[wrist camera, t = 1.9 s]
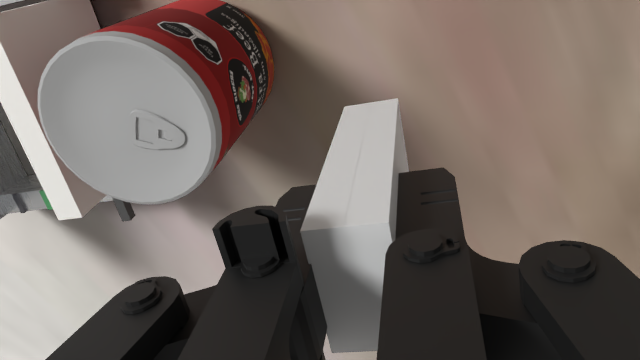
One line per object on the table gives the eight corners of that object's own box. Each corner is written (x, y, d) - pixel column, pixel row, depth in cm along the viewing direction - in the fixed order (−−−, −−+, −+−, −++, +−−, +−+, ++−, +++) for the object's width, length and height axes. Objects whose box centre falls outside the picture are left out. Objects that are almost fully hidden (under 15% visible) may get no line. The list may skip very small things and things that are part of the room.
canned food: (285, 118, 32) (231, 206, 23) (166, 122, 34) (68, 207, 24) (268, -12, 29) (196, 26, 19) (136, -1, 30) (8, 40, 21)
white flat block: (64, -4, 31) (-39, 22, 24) (86, -9, 30) (-13, 15, 23) (143, 193, 36) (78, 261, 29) (162, 191, 36) (101, 259, 29)
